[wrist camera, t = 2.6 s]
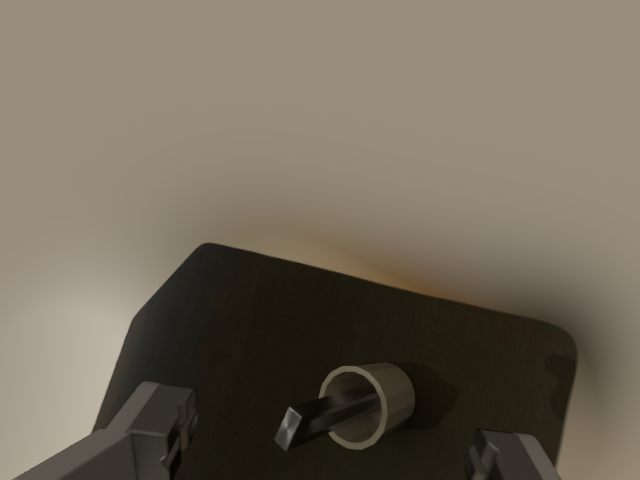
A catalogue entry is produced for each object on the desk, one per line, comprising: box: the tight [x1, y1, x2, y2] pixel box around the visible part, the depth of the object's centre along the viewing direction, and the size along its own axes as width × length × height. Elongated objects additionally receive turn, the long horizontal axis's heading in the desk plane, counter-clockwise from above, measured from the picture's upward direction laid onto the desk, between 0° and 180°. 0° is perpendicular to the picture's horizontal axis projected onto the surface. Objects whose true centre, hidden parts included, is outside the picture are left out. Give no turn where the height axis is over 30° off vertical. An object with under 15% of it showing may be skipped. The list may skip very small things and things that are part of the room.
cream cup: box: [319, 362, 415, 450], centre depth 33 cm, size 7×7×9 cm
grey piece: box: [274, 384, 381, 451], centre depth 28 cm, size 1×2×18 cm, turn 149°
